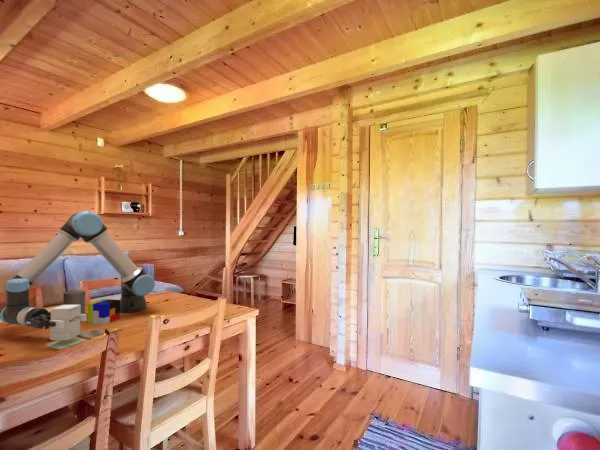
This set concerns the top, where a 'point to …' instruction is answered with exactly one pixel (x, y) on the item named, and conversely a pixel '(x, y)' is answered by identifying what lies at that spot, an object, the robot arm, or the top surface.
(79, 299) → the pillar candle
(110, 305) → the puzzle toy
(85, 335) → the walnut pad
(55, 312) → the supplement box
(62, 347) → the sage pad
